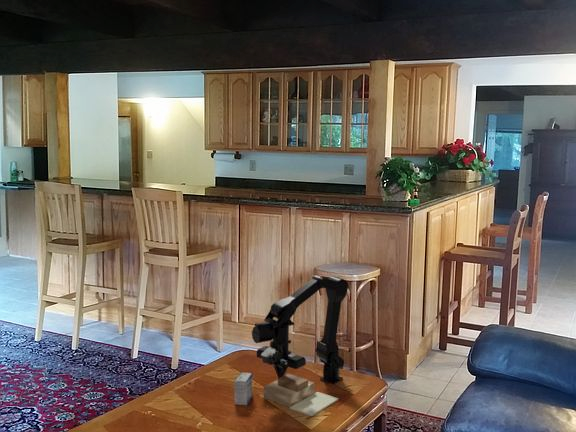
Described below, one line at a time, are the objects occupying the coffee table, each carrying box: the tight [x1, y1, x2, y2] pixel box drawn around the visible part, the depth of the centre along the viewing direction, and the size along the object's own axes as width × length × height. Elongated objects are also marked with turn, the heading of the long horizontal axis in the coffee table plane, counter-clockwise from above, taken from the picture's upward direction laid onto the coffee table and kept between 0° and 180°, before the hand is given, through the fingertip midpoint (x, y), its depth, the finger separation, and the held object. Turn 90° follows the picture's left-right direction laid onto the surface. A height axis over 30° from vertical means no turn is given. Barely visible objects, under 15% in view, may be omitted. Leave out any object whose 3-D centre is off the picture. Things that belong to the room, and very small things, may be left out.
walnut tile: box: [277, 373, 309, 392], centre depth 213 cm, size 9×6×2 cm, turn 52°
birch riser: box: [263, 379, 315, 408], centre depth 214 cm, size 14×12×4 cm
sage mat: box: [289, 391, 339, 417], centre depth 208 cm, size 16×9×1 cm, turn 142°
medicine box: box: [233, 372, 253, 406], centre depth 210 cm, size 8×4×9 cm, turn 168°
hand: (280, 379), depth 216 cm, fingers closed
